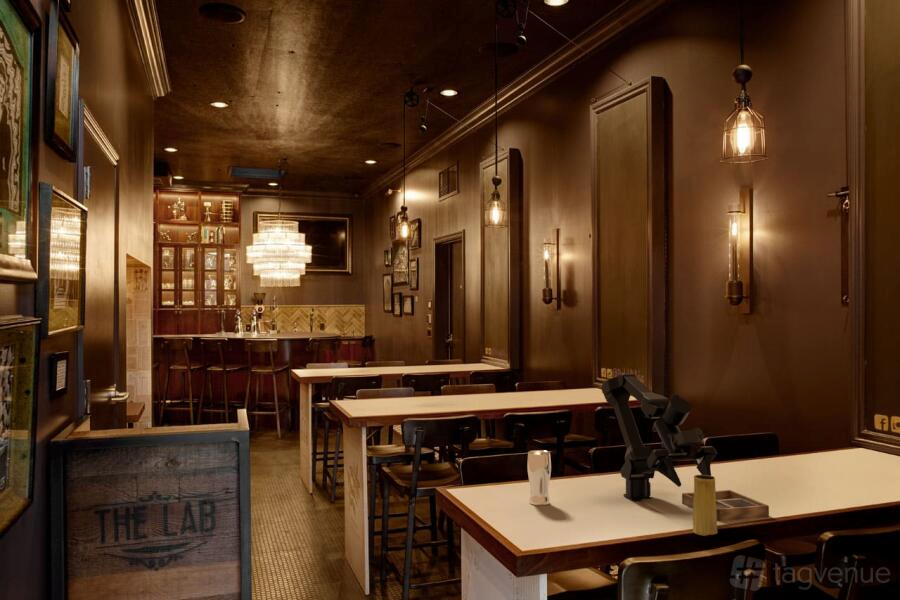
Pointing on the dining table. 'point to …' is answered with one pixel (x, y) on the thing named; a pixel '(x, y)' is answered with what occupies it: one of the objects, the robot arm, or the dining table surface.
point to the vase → (704, 505)
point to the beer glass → (539, 476)
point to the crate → (735, 511)
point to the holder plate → (734, 503)
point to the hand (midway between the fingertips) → (695, 484)
